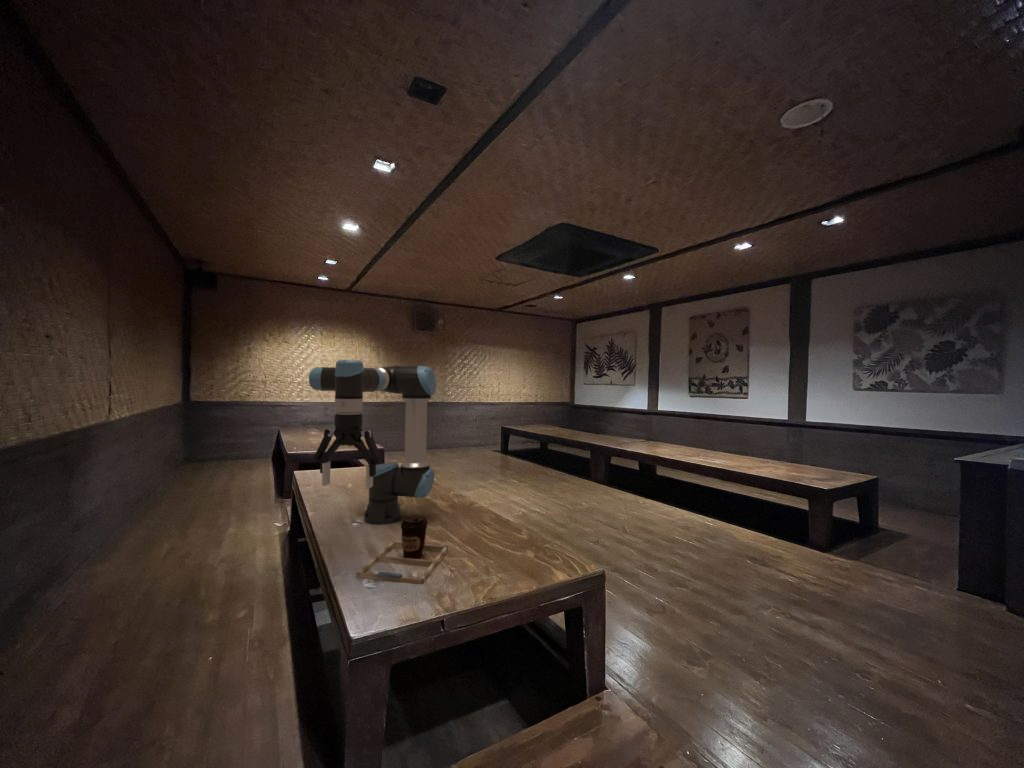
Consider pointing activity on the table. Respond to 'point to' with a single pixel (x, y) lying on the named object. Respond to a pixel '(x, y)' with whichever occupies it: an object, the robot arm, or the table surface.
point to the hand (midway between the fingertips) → (347, 486)
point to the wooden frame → (407, 561)
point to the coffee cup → (413, 536)
